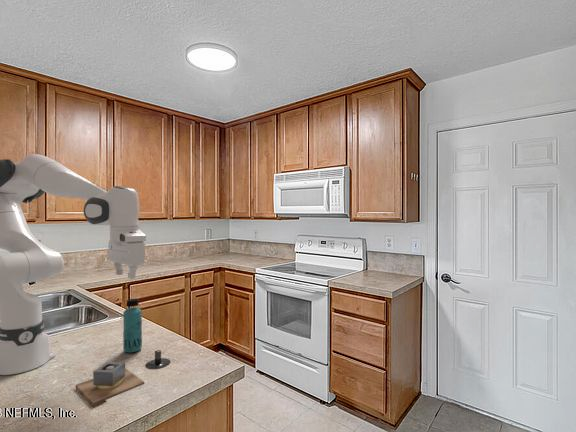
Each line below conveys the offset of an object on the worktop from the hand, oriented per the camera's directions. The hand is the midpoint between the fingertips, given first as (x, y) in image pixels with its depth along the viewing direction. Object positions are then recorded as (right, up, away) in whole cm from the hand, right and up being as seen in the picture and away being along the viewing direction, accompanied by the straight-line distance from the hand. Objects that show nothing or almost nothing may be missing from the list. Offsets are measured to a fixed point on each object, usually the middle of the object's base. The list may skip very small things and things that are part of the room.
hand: (125, 276), depth 108 cm
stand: (+10, -31, +3) cm, 33 cm away
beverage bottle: (-4, -31, +13) cm, 34 cm away
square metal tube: (+1, -29, -11) cm, 31 cm away
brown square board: (+1, -31, -11) cm, 33 cm away
